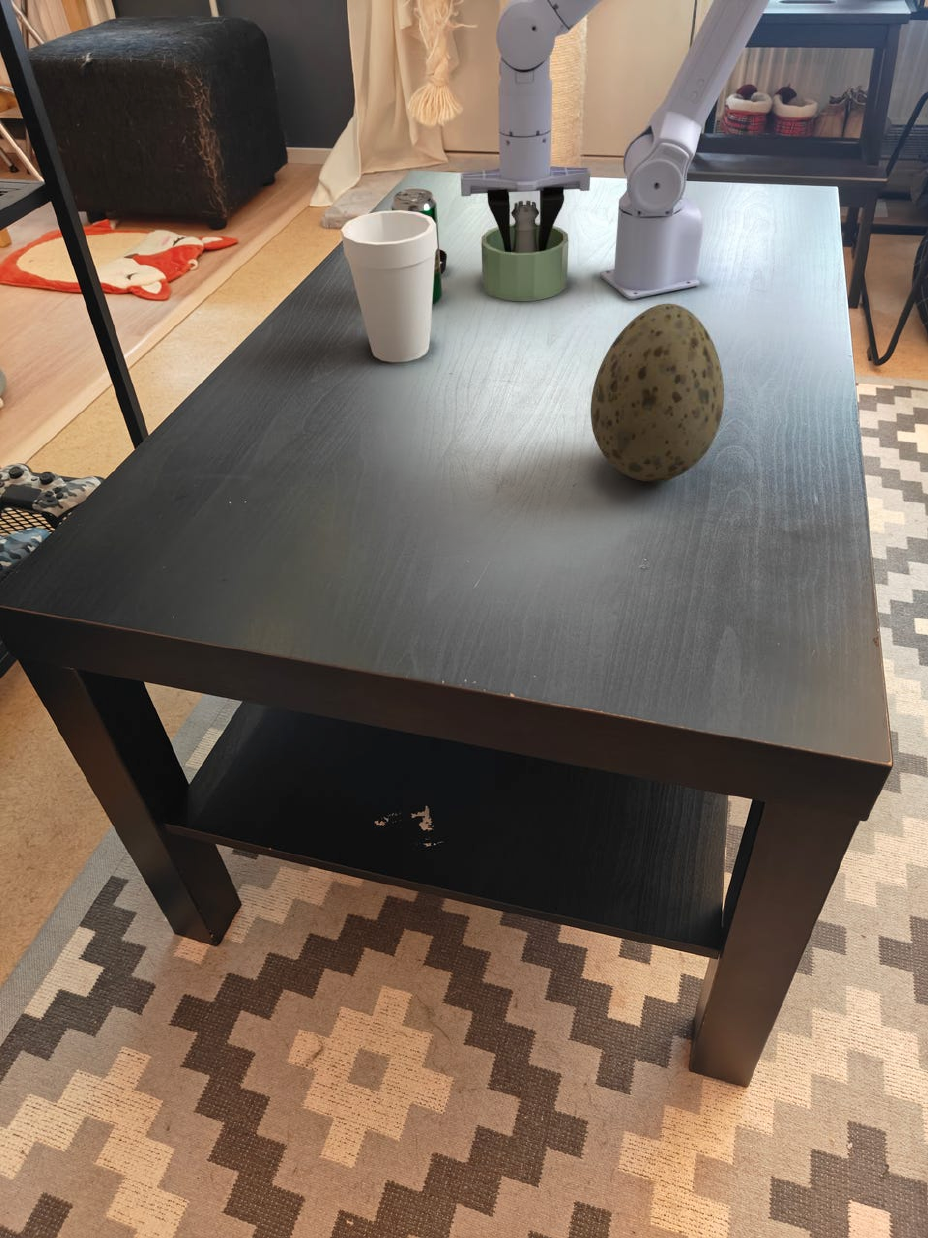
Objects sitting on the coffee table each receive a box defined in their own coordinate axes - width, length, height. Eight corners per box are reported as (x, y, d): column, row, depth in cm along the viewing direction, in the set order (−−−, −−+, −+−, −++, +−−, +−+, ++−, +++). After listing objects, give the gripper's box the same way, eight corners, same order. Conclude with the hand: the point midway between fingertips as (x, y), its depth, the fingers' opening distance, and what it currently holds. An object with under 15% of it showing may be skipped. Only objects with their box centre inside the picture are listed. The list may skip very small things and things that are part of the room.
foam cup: (377, 377, 94) (362, 251, 85) (344, 343, 100) (327, 222, 91) (458, 354, 96) (451, 230, 88) (421, 322, 103) (412, 204, 94)
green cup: (545, 261, 114) (546, 217, 110) (580, 291, 107) (582, 245, 103) (470, 276, 112) (469, 230, 108) (501, 307, 105) (500, 260, 101)
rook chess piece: (532, 283, 106) (532, 213, 101) (499, 276, 108) (498, 207, 103) (549, 269, 109) (551, 200, 103) (517, 263, 111) (517, 195, 105)
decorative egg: (732, 462, 79) (764, 297, 69) (673, 523, 73) (698, 351, 63) (626, 427, 84) (641, 268, 74) (563, 481, 78) (569, 316, 68)
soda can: (437, 310, 105) (430, 203, 97) (395, 308, 106) (385, 201, 98) (446, 292, 108) (440, 187, 100) (405, 290, 109) (396, 186, 101)
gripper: (458, 143, 95) (464, 270, 104) (595, 136, 95) (589, 265, 104) (458, 124, 100) (464, 247, 109) (588, 118, 100) (582, 242, 109)
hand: (524, 255), depth 107 cm, fingers closed on rook chess piece, 3 cm apart
